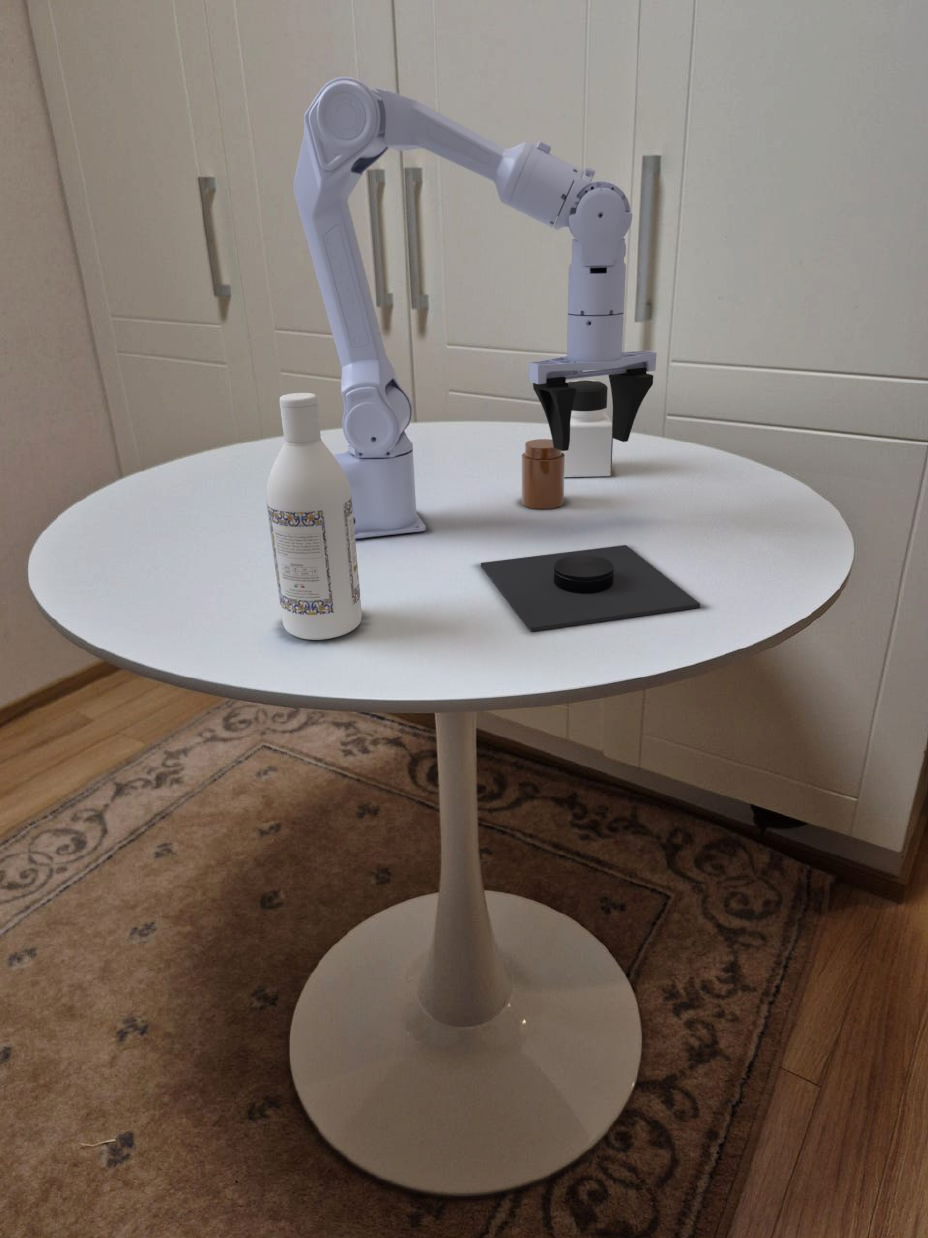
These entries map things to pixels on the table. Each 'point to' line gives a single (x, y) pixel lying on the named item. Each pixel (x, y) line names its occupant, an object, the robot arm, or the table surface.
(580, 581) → the jar lid
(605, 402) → the medicine bottle
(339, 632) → the bath foam
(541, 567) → the mat
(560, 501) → the jar
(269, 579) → the table surface
